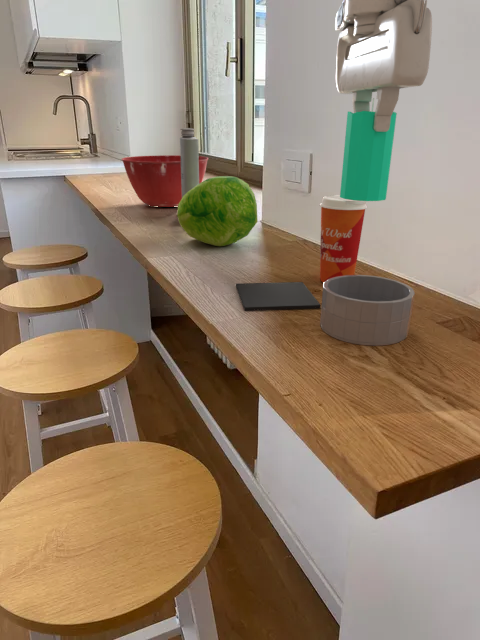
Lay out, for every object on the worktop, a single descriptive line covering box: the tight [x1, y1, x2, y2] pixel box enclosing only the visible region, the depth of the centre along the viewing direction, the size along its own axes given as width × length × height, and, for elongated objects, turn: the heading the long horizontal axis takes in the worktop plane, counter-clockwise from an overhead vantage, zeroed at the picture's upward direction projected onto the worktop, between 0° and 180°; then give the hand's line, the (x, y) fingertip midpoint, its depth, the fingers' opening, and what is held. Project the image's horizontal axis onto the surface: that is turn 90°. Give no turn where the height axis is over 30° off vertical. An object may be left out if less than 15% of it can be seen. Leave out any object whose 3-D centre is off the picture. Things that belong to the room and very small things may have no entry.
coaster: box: [235, 281, 322, 312], centre depth 82 cm, size 12×12×1 cm
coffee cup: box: [319, 194, 368, 284], centre depth 88 cm, size 8×8×15 cm
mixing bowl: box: [120, 154, 209, 207], centre depth 165 cm, size 28×28×16 cm
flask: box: [179, 127, 200, 198], centre depth 138 cm, size 17×5×25 cm, turn 7°
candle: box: [339, 97, 398, 202], centre depth 63 cm, size 6×6×12 cm
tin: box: [319, 274, 416, 347], centre depth 69 cm, size 12×12×6 cm
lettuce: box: [176, 175, 258, 247], centre depth 114 cm, size 17×20×17 cm
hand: (370, 131), depth 62 cm, fingers closed on candle, 5 cm apart
